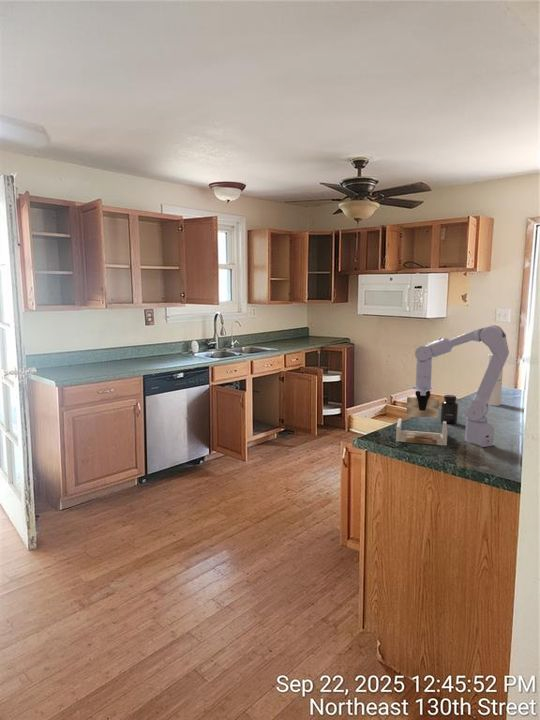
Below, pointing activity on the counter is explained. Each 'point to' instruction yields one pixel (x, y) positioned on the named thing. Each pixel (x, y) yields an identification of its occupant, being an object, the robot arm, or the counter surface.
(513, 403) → the counter surface
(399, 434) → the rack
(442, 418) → the supplement bottle
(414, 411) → the tall sheet
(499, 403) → the cylindrical container
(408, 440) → the offcut stack
